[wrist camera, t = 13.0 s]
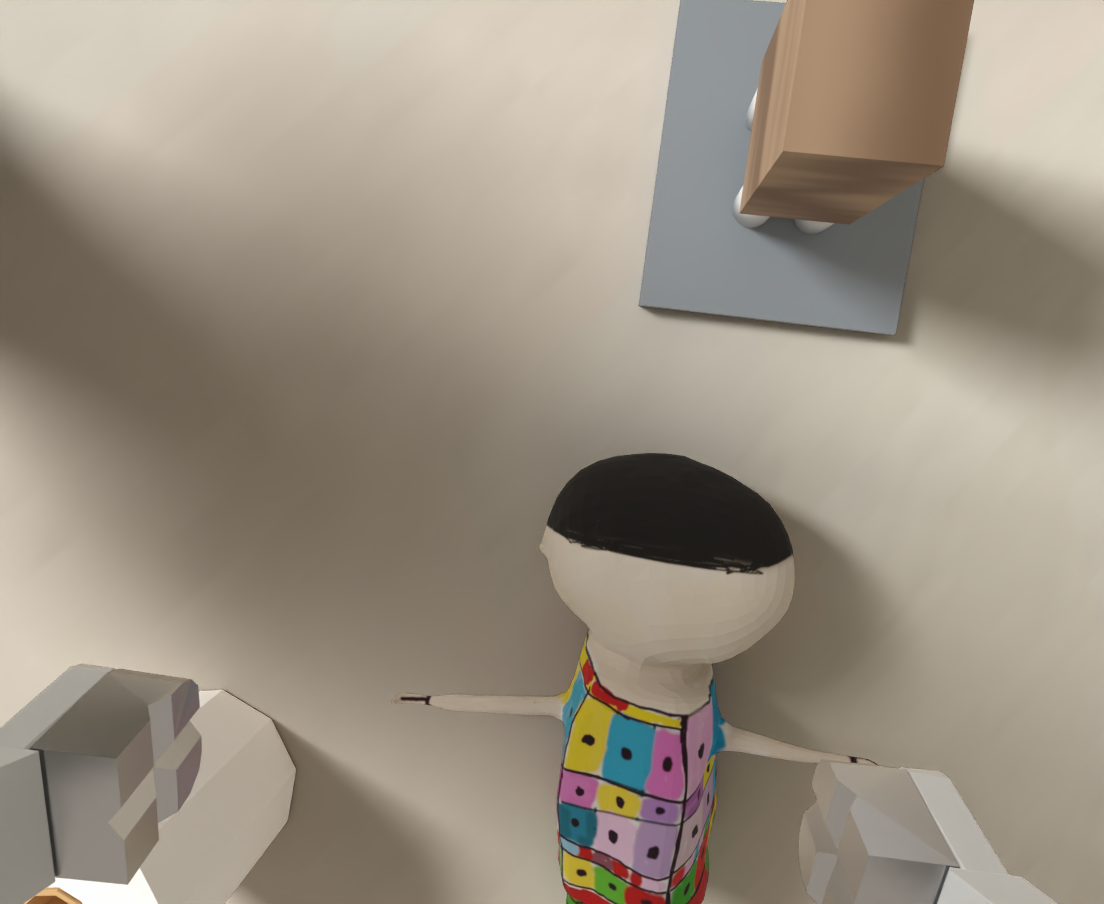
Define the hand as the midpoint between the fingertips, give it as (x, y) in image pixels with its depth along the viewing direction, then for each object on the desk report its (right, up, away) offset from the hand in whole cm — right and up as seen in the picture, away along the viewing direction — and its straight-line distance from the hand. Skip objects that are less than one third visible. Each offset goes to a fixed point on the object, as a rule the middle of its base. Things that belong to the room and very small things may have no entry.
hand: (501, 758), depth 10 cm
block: (+11, +17, +21) cm, 29 cm away
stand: (+12, +17, +26) cm, 34 cm away
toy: (+4, -10, +31) cm, 33 cm away
